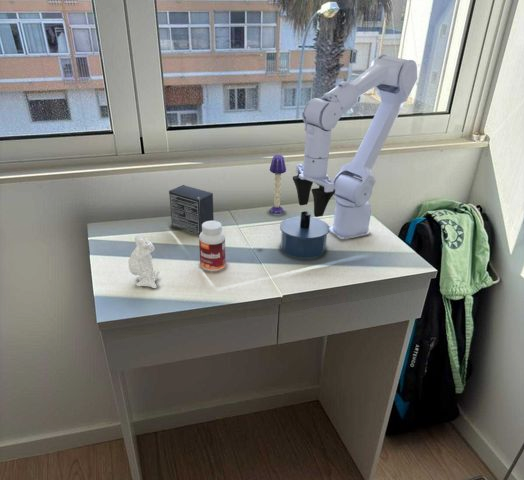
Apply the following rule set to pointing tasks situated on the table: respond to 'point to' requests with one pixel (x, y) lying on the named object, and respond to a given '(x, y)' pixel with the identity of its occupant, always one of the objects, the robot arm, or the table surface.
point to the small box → (190, 208)
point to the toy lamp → (277, 181)
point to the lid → (304, 227)
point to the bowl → (303, 246)
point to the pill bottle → (212, 246)
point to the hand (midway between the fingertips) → (310, 210)
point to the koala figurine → (143, 263)
